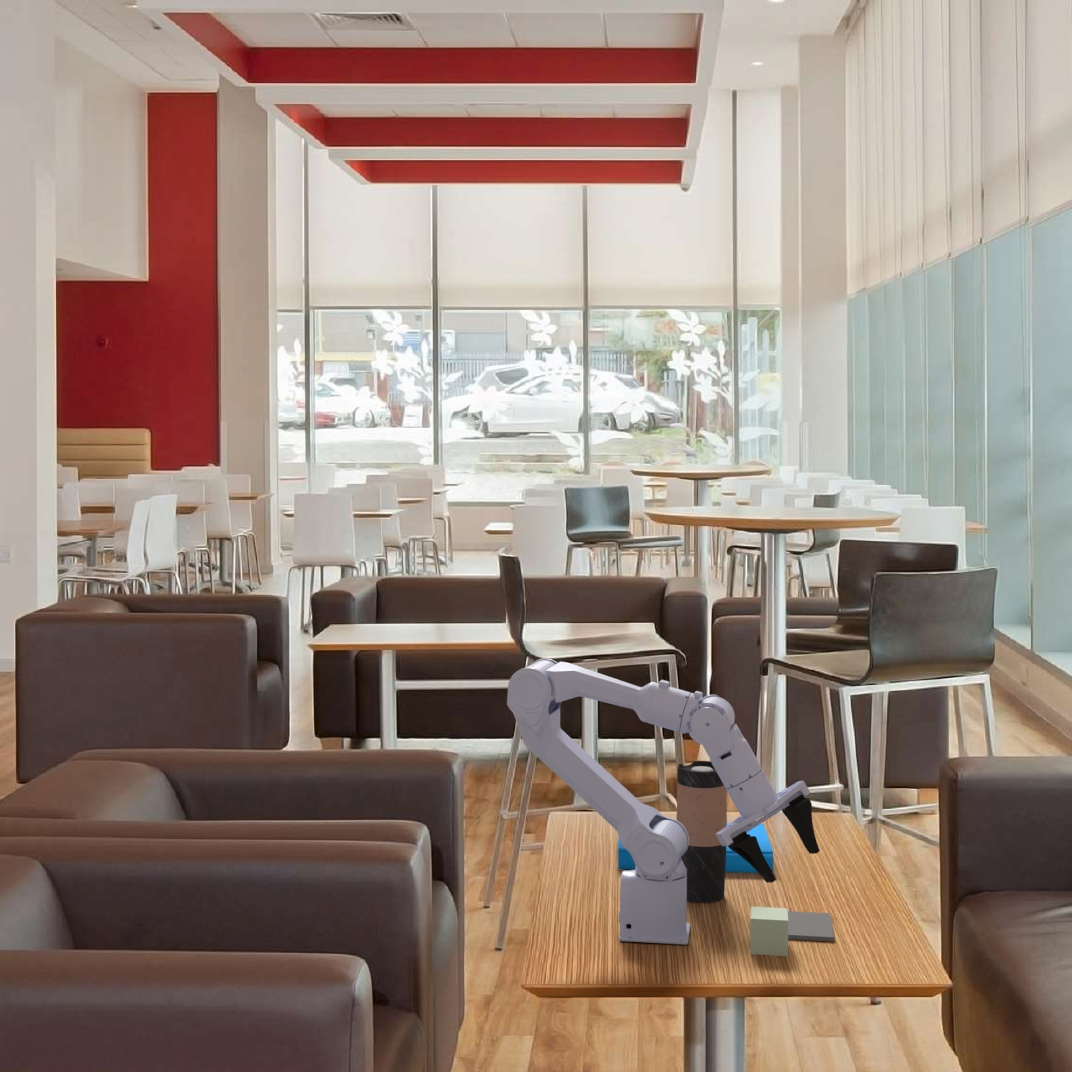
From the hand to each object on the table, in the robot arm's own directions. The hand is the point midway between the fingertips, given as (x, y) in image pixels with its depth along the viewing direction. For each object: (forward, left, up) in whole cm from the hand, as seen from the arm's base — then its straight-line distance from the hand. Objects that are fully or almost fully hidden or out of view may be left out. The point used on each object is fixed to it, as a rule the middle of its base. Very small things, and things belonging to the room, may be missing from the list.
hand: (793, 866), depth 195 cm
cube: (-3, -1, -12) cm, 12 cm away
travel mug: (-13, +20, -12) cm, 27 cm away
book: (-15, +40, -12) cm, 45 cm away
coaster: (+1, +8, -11) cm, 14 cm away
